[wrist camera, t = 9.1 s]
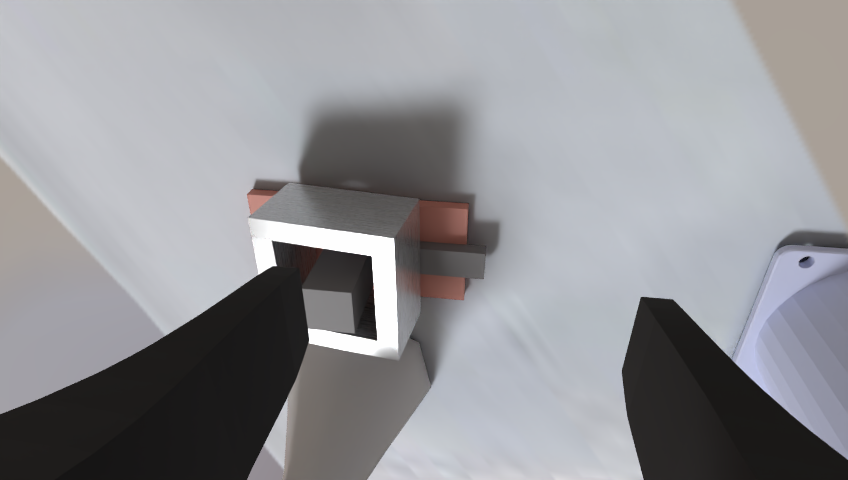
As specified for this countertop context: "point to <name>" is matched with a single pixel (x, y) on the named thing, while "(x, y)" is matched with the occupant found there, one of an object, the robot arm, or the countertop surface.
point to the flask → (349, 410)
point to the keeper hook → (353, 273)
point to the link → (356, 233)
